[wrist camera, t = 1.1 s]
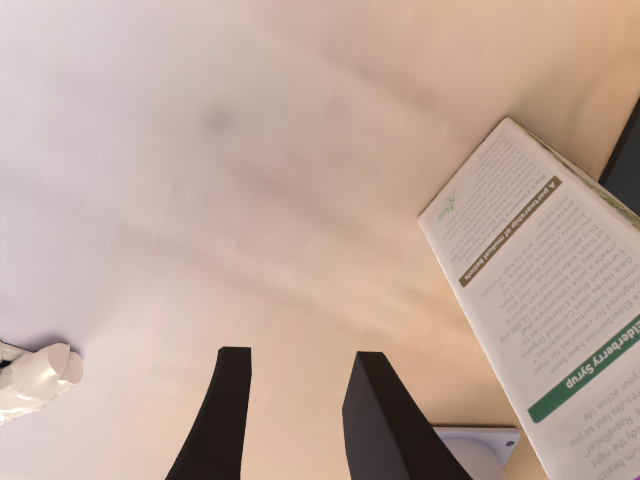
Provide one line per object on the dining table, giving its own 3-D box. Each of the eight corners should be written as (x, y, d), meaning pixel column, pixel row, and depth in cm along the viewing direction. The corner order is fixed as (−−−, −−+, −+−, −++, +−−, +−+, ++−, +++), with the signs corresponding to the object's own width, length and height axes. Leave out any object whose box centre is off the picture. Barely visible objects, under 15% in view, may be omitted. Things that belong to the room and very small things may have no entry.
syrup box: (411, 219, 23) (583, 592, 11) (507, 106, 20) (866, 426, 8) (503, 272, 25) (732, 631, 13) (601, 175, 23) (992, 507, 11)
